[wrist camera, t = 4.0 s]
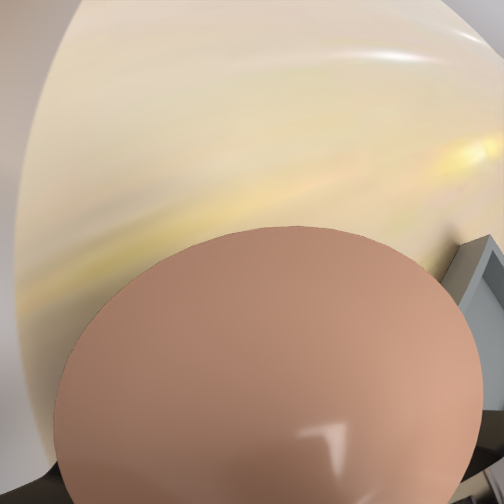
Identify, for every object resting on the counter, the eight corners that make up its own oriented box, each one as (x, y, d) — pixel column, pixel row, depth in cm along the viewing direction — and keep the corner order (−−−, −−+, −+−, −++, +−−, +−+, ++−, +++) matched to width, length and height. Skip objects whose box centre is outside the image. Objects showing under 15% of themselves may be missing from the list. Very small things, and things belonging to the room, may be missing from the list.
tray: (527, 355, 19) (552, 355, 15) (443, 495, 15) (466, 508, 12) (460, 245, 20) (490, 234, 16) (341, 420, 16) (365, 438, 13)
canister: (309, 348, 17) (519, 399, 3) (238, 421, 15) (288, 621, 2) (235, 278, 17) (290, 132, 4) (161, 351, 16) (-8, 440, 2)
